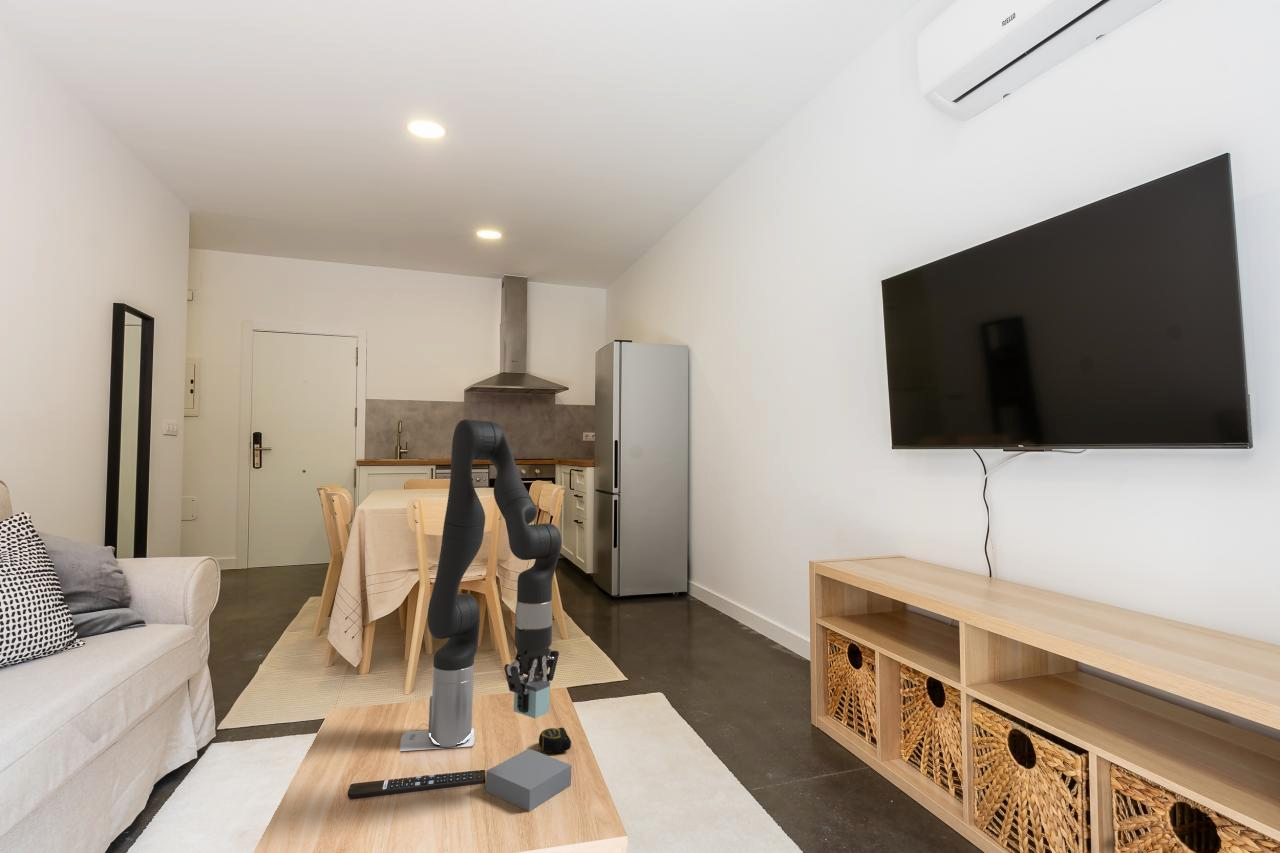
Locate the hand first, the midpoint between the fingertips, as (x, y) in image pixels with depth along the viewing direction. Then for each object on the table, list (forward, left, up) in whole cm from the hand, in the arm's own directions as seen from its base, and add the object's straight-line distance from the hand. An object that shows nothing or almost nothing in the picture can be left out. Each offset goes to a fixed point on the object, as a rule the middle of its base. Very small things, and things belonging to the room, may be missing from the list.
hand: (531, 707), depth 128 cm
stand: (0, 0, -16) cm, 16 cm away
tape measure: (-7, +16, -16) cm, 24 cm away
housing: (0, 0, -1) cm, 1 cm away
